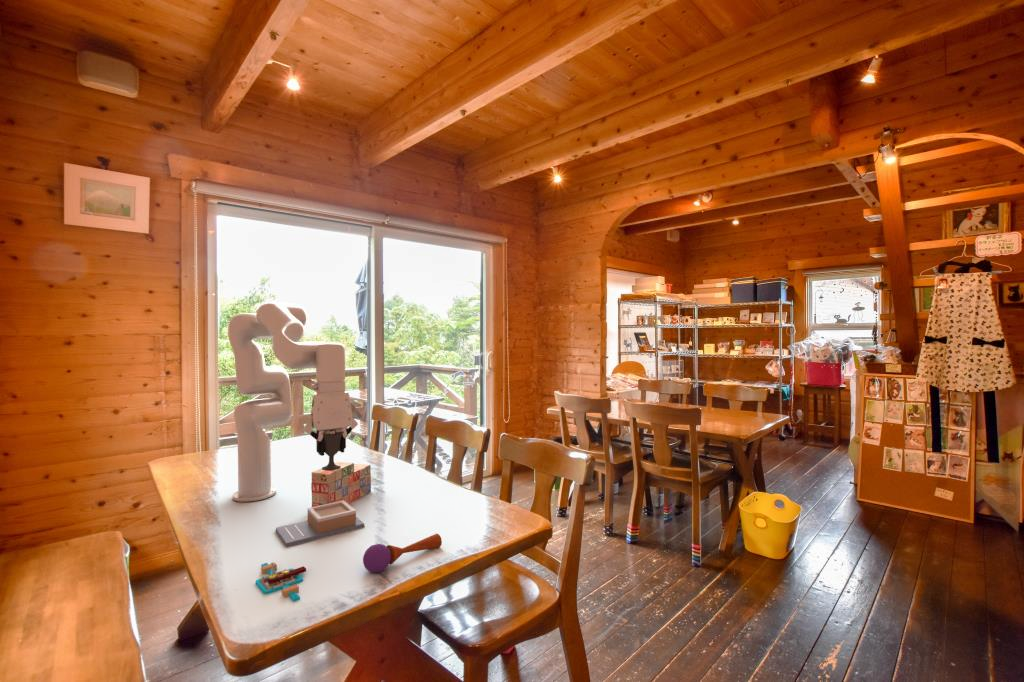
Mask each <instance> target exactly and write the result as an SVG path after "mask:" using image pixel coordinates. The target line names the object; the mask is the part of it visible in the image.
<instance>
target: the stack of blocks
mask: <svg viewBox="0 0 1024 682" xmlns="http://www.w3.org/2000/svg"><path fill="white" fill-rule="evenodd" d="M334 463H335V465H338V466H341V468H340V469H337V470H331V471H326V470H322V467H321V468H319V469H316V470H314V471H312V472H311V483H310V484H311V487H310V488H311V489H310V490H311V507H315V506H320V505H324V504H329V503H334V502H338V501H343V500H344V501H345V502H346V503H347V504H351V503H352V502H354V501H355V500H358V499H359V498H361V497H364V496H365V495H367V494H369V493H370V492H372V474H371V473H372V472H371V469H372V467H371V464H367V463H366V464H365V463H356V462H355V463H354V462H348V461H347V462H346V461H345V462H344V461H336V462H334Z"/></svg>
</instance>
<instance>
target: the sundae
mask: <svg viewBox="0 0 1024 682" xmlns="http://www.w3.org/2000/svg"><path fill="white" fill-rule="evenodd" d="M343 433H344V432H342V428H341V429H333V430H325V431H324V434H323V441H324V454H326V455H327V456H328V463H327V465H325V466H322V467H321V468H322V470H326V471H331V470H337V469H340V468H341V466H338V465H335V463H336V462H335V460H334V459H335V456H336V455H337V454H338V453H339V452H340V451H339V448H340V442H341V436H342V434H343ZM318 434H319V433H318Z"/></svg>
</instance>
